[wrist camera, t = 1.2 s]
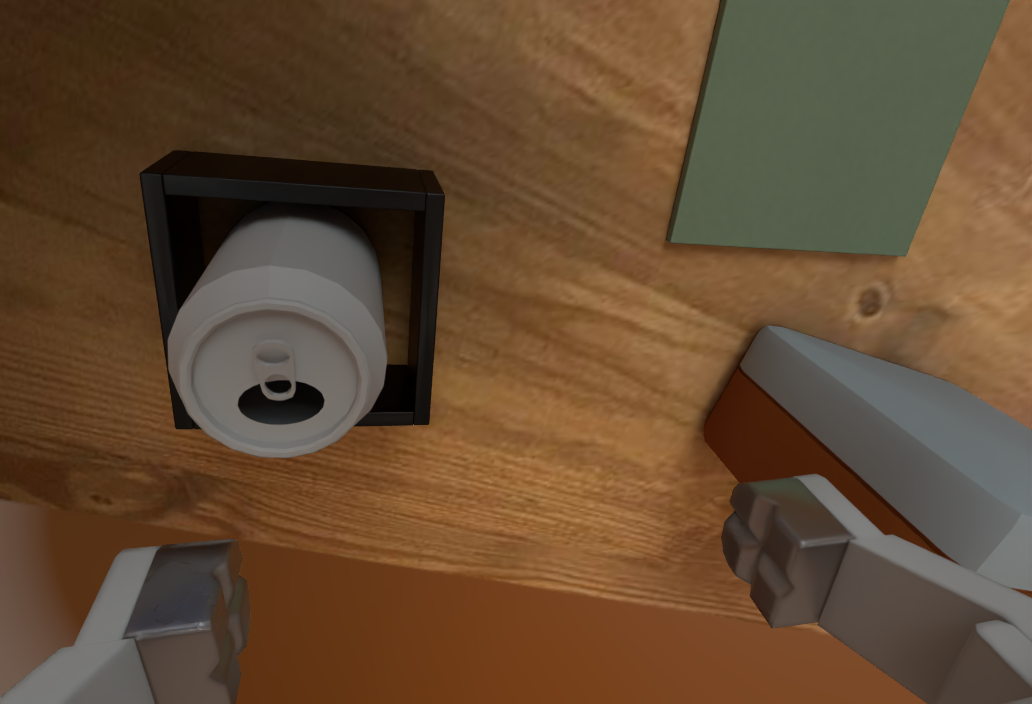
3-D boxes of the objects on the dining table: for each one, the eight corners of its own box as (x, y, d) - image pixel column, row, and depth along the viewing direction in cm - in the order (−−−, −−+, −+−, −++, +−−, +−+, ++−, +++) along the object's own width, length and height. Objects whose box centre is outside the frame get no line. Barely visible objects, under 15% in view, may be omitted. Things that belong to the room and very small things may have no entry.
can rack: (172, 149, 28) (138, 172, 24) (433, 170, 31) (445, 194, 26) (199, 377, 33) (175, 430, 29) (421, 376, 36) (429, 425, 31)
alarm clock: (690, 430, 42) (931, 728, 24) (755, 315, 39) (1088, 560, 21) (883, 476, 48) (1187, 738, 31) (953, 380, 45) (1336, 610, 27)
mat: (744, -105, 28) (751, -107, 28) (1018, -46, 32) (1029, -47, 32) (665, 240, 35) (670, 243, 35) (898, 253, 39) (906, 256, 39)
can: (235, 339, 32) (176, 486, 22) (211, 194, 29) (128, 286, 19) (383, 333, 34) (392, 467, 24) (376, 194, 31) (384, 280, 20)
